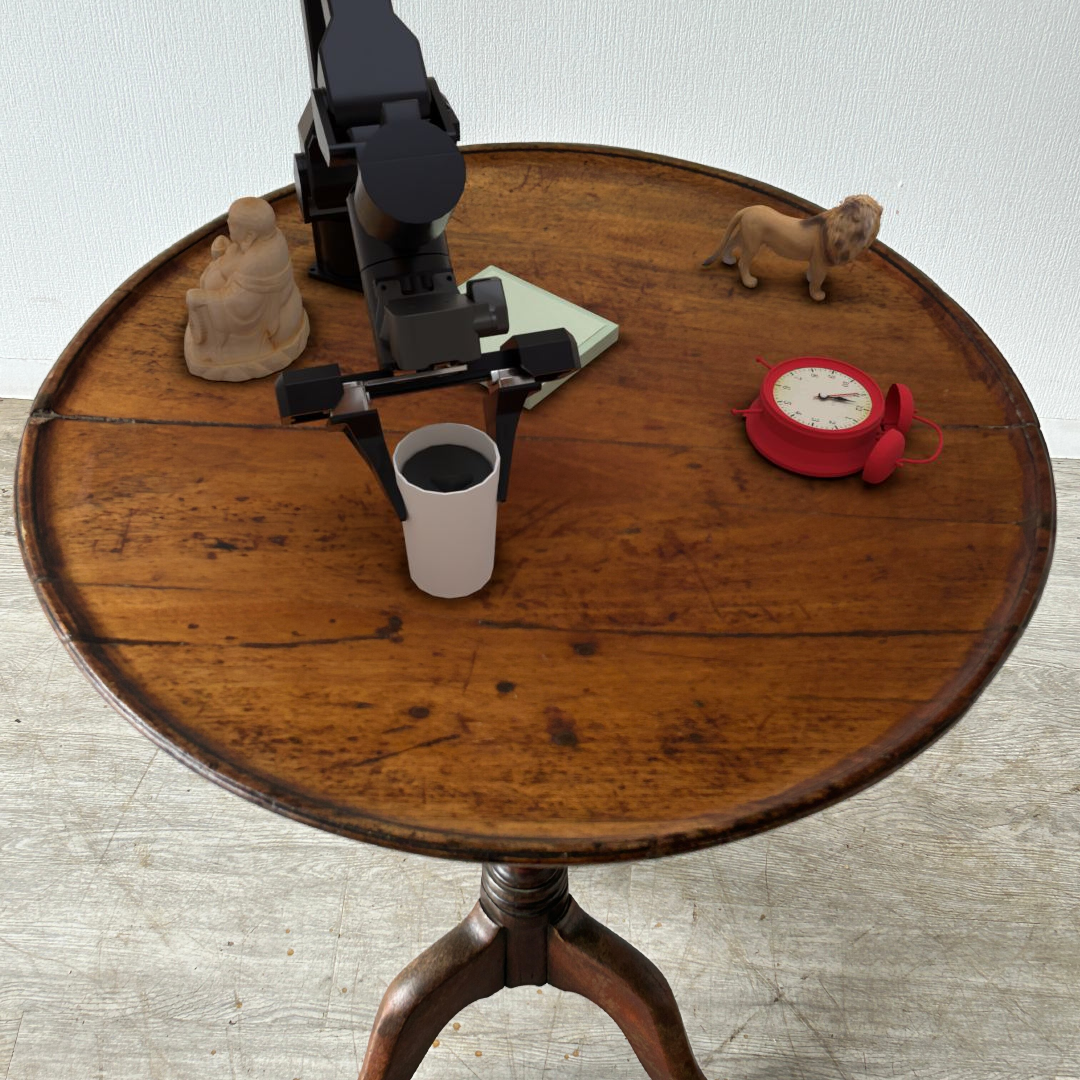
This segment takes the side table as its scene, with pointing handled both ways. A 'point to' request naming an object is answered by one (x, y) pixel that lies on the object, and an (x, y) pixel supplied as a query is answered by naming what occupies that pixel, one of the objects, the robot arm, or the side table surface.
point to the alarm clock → (831, 420)
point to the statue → (246, 301)
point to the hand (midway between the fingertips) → (452, 511)
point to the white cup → (449, 506)
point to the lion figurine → (803, 237)
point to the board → (546, 323)
